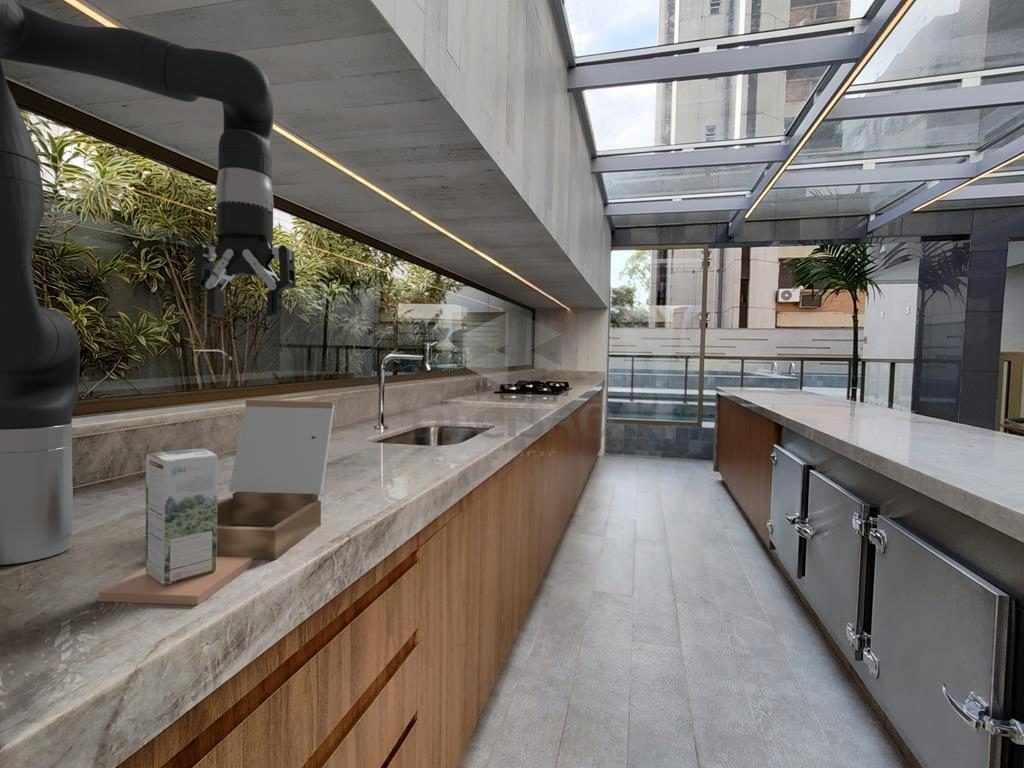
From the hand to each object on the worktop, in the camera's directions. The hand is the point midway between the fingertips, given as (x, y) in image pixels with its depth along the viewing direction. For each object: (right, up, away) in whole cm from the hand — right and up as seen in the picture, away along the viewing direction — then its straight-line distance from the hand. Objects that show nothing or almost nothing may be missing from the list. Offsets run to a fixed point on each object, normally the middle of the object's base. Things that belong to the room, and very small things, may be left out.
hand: (245, 316), depth 77 cm
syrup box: (+1, -33, -16) cm, 37 cm away
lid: (+2, -28, +9) cm, 29 cm away
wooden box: (+1, -33, +1) cm, 33 cm away
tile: (+1, -34, -16) cm, 37 cm away
